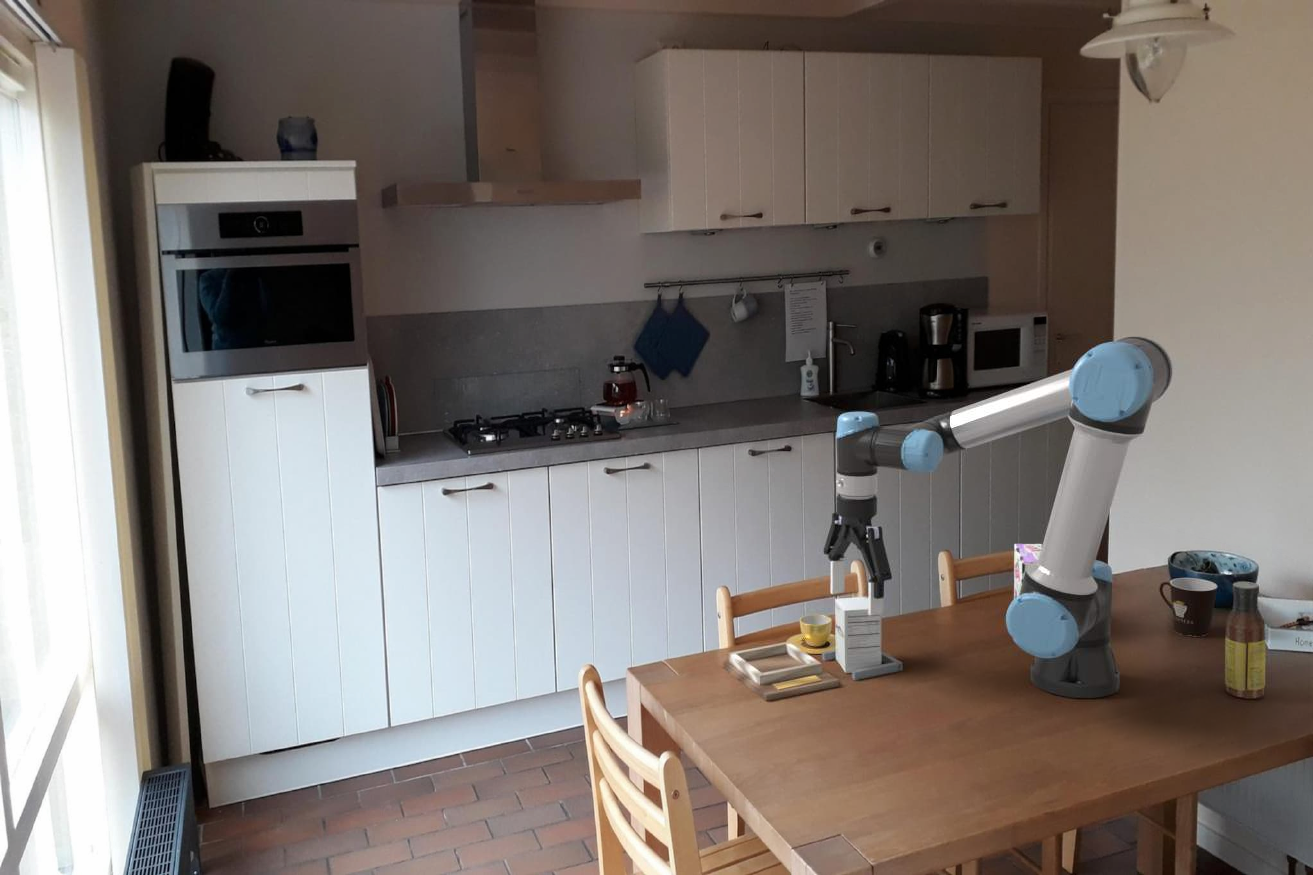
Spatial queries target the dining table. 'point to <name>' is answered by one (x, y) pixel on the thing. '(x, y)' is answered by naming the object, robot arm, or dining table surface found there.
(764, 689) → the board
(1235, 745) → the dining table surface
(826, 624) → the cup
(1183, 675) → the dining table surface
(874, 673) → the bracket
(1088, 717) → the dining table surface
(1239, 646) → the sauce bottle
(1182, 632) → the coffee mug
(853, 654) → the supplement box
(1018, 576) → the candy box
